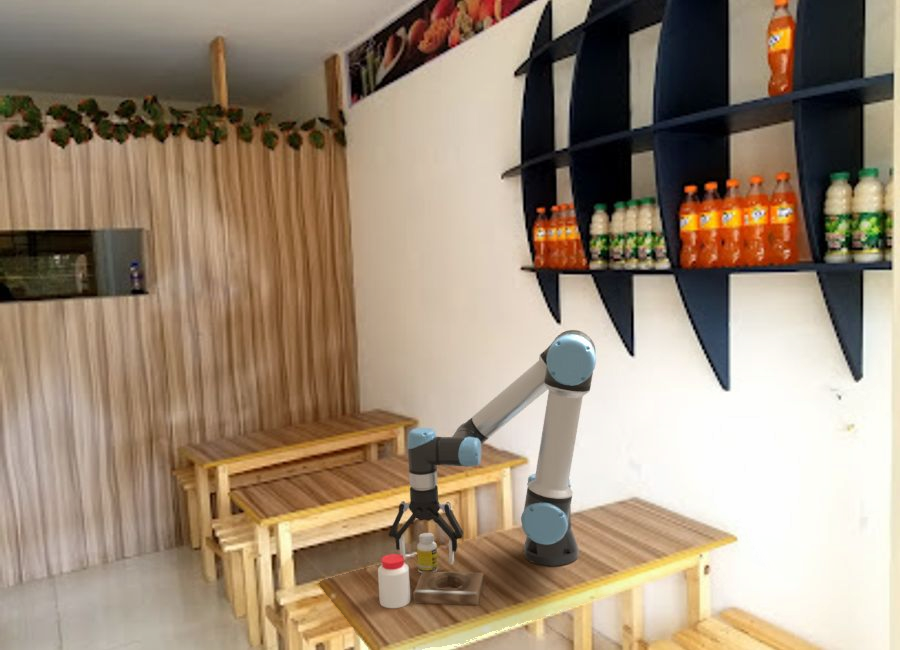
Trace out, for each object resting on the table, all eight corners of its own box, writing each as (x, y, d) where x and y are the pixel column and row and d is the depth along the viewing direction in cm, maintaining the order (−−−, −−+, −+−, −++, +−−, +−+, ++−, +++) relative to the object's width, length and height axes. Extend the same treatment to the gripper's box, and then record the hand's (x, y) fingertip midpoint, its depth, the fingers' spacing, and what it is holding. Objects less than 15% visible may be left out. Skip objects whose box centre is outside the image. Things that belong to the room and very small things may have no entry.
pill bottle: (385, 611, 172) (382, 568, 171) (375, 597, 179) (373, 555, 178) (415, 603, 175) (412, 561, 174) (404, 590, 183) (402, 549, 181)
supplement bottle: (435, 575, 190) (433, 540, 189) (415, 574, 192) (414, 539, 191) (439, 566, 196) (438, 531, 195) (420, 565, 197) (418, 531, 196)
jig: (483, 582, 185) (483, 571, 185) (477, 605, 173) (477, 594, 173) (423, 580, 188) (423, 570, 187) (413, 602, 176) (413, 591, 176)
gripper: (471, 481, 193) (474, 557, 195) (382, 480, 197) (386, 554, 199) (467, 491, 185) (470, 569, 188) (375, 489, 190) (379, 566, 192)
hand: (427, 561), depth 193 cm, fingers open, 13 cm apart
